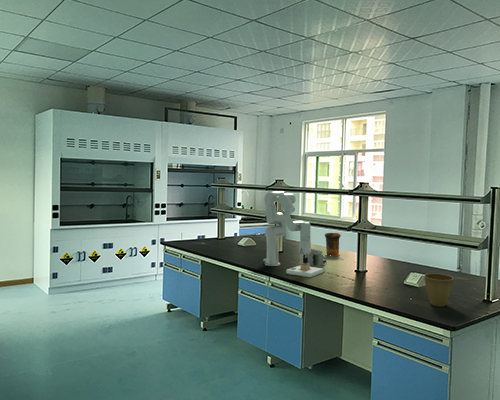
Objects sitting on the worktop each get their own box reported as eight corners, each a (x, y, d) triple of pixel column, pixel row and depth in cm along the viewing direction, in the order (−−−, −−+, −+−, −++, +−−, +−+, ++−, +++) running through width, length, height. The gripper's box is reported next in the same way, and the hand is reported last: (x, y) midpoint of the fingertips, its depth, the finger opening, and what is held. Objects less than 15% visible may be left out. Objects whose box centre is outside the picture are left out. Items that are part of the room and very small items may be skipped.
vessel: (334, 257, 376) (334, 234, 375) (321, 255, 387) (321, 233, 386) (344, 255, 385) (343, 233, 385) (331, 253, 396) (331, 232, 396)
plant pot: (418, 303, 239) (418, 275, 238) (434, 299, 247) (435, 272, 246) (441, 310, 226) (442, 281, 225) (458, 306, 234) (459, 277, 233)
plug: (300, 272, 314) (300, 263, 314) (304, 271, 318) (304, 262, 318) (306, 273, 311) (306, 264, 311) (309, 272, 315) (309, 263, 315)
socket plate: (286, 273, 313) (286, 268, 313) (300, 269, 328) (300, 264, 328) (309, 277, 300) (309, 272, 300) (323, 272, 316) (323, 267, 316)
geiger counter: (304, 247, 347) (323, 252, 325) (310, 246, 350) (329, 251, 327) (304, 264, 348) (323, 270, 325) (310, 263, 350) (329, 269, 328)
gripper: (306, 237, 321) (306, 261, 322) (295, 239, 310) (295, 264, 310) (314, 237, 317) (314, 262, 317) (304, 240, 305) (304, 265, 306)
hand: (305, 263), depth 314 cm, fingers closed
